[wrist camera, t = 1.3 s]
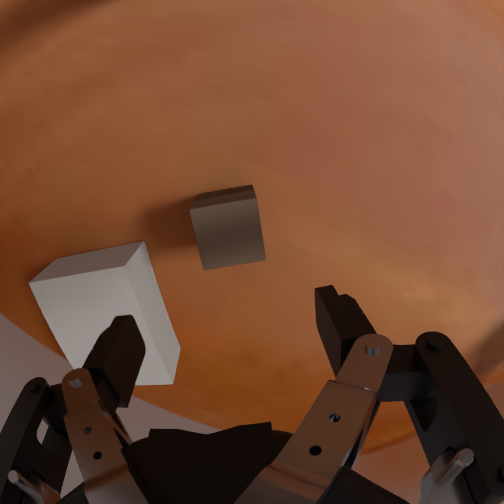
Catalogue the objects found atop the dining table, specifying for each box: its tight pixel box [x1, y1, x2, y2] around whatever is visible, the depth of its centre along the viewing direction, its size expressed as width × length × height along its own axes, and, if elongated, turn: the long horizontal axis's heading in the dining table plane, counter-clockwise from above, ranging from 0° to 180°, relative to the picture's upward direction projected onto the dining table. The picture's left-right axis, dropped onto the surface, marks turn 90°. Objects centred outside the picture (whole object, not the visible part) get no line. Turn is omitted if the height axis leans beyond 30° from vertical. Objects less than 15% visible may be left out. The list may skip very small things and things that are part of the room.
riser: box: [29, 241, 180, 385], centre depth 28 cm, size 14×12×6 cm
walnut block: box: [190, 185, 266, 270], centre depth 25 cm, size 5×5×6 cm
